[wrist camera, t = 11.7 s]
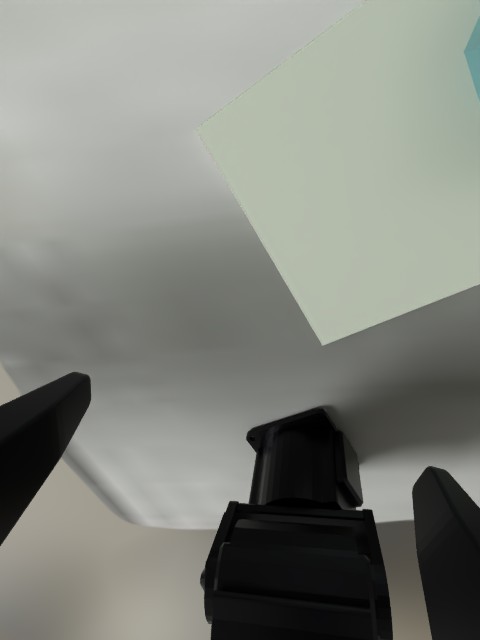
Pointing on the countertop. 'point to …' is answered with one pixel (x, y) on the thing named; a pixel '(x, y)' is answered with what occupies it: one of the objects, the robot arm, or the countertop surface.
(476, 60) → the teal rounded cylinder
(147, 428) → the countertop surface
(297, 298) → the sage mat
